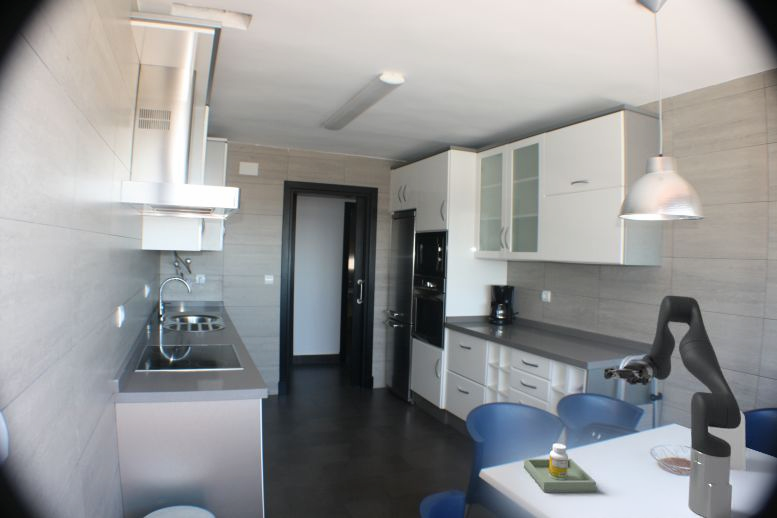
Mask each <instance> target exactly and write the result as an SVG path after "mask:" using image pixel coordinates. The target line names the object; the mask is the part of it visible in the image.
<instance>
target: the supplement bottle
mask: <svg viewBox="0 0 777 518" xmlns="http://www.w3.org/2000/svg"><path fill="white" fill-rule="evenodd" d="M549 459H550V463H549V475H550V476H551V477H552V478H554V479H557V480H565V479H566V478H567V469H568V459H569V455H568V453H567V446H566V445H564V444H561V443H553V444H552V450H551V451H550V453H549Z"/></svg>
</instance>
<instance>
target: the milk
mask: <svg viewBox="0 0 777 518" xmlns="http://www.w3.org/2000/svg"><path fill="white" fill-rule="evenodd" d="M740 413H741V423H740V425H739V426H738V427H737V428H735V429H724V428H716V427H708V431H709V433H710V434H712V435H714V436H716V437H719V438H721V439H723V440H725V441H726V442H728V443H729V444H730V446H731V458H730V470H734V471H735V470H737V471H743V472H744V471H747V470H746V469H747V468H746V467H747V465H746V463H747V462H746V461H747V460H746V417H745V414H744V413H743V412H742V411H741V410H740Z"/></svg>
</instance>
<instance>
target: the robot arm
mask: <svg viewBox="0 0 777 518" xmlns="http://www.w3.org/2000/svg"><path fill="white" fill-rule="evenodd" d="M703 319H704V318H703V315H702V311H701V308H700V305H699V302H698V301H697V300H696V298H694V297H691V296H680V295H666V296H664V297H663V298H662V300H661V303H660V305H659V311H658V316H657V323H656V331H655V336H654V339H653V342H652V344H651V348H650V350H649V353H647V354H645V355H644V356H643V357H642V358H641V360H640V361H634V362H630V363H627V364H626V365H624V366H623V368H615V367H613V366H612V367H608V368H604V369H603V370H604V372H603V373H604V374H603V378H604V379H605V380H609V379H615V380H623V381H625V382H626V383H628V384H630V385H631V386H633V385H635V386H637V385H643V386H647V385H649V384H651V380H652V379H654V378H655V379H657V380H660V381H664V380H666V379H667V378H669V376H670V375H671V372H672V355H673V352H674V351H675V347H676V340H675V336H674V335H673V334H672V331H671V329H670V328H669V322H671V323H679V324H686V325H688V326H689V329H688V331H687V332H686V333H684V334H685V335H684V336H682V338H681V340H680V342H679V344H678V351H679V355H680V358H681V361H682V364H683V366H684V367H685V369H686V370H687V371H688V372H689V373H690V374H691V375H692V376H693V377H694V378H696V379H697V380H698V381H699V382H701V384H703V385H704V386H706V387H707V389H709V391H710V392H704V391H696V392H695V393H694V394H693V395H692V397H691V402H690V418H691V424H690V425H691V426H690V435H691V437H690V438H691V445H690V459H689V460H690V462H689V485H688V486H689V487H688V508H689V509H690V511H692V512H693V513H695V514H697V515H699V516H701V517H704V518H731V516H732V499H733V497H732V496H733V495H732V494H733V486H732V484H731V483H730V479H731V478H730V477H731V476H730V475H731V469H730V458H731V446H730V444H729V443H728V442H726V441H725V440H723V439H721V438H719V437H716V436H714V435H712V434H710V433H709V431H708V427H716V428H724V429H735V428H737V427H738V426H739V425H740V423H741V413H740V411H741V410H740V409H741V408H740V406H739V404H738V401H737V399H736V397H735V395H734V393H733V391H732V389H731V387H730V386H729V383H728V382H727V379H726V378H725V375H724V373H723V371H722V369H721V366H720V363H719V360H718V357H717V355H716V352H715V350H714V347H713V345H712V343H711V340H710V337H709V335H708V332H707V330H706V327H705V323H704V320H703Z"/></svg>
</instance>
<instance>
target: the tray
mask: <svg viewBox="0 0 777 518" xmlns="http://www.w3.org/2000/svg"><path fill="white" fill-rule="evenodd" d="M549 463H550V458H524V459H523V469H524V470H525V471H526V472H527V474H530V475H529V476H530V477H531V479H534V480H535V481H534V480H533V481H534V483H536V485H537V484H538V485H537V486H538V487H539V488H540V490H541V491H542V490H543V491H542V492H543V493H596V492H597V491H596V490H597V482H596V481H595V480H594V479H593V478H592V477H591V476H590V475H589V474H588V473H587V472H586V471H584V469H583V468H582V467H580V465H578V464H577V463H576V462H575V461H574V460H573V459H572V458H568V469H567V478H566V479H565V480H557V479H554V478H552V477H551V476H550V475H549Z"/></svg>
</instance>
